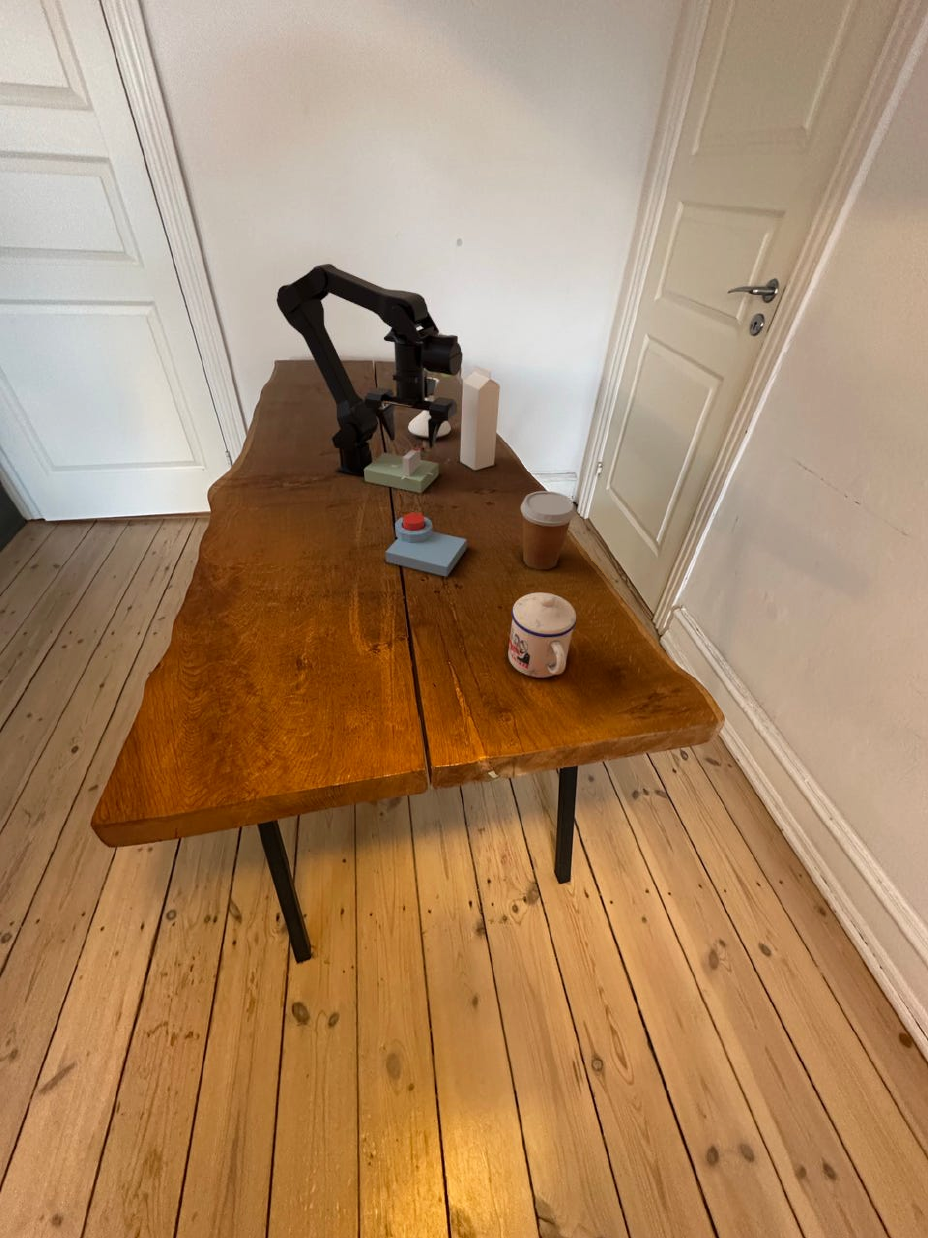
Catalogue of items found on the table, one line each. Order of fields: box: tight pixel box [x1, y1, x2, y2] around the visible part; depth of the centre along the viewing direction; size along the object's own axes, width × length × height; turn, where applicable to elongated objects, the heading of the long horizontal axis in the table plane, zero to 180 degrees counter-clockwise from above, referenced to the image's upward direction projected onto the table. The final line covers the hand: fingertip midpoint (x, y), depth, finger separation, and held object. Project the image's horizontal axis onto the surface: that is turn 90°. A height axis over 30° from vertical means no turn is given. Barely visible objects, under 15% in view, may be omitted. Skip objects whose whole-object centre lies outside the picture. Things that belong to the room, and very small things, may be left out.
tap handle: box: [403, 446, 421, 476], centre depth 121 cm, size 6×2×4 cm, turn 159°
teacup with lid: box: [507, 592, 578, 678], centre depth 77 cm, size 12×9×12 cm
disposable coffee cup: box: [520, 490, 576, 571], centre depth 99 cm, size 10×10×12 cm
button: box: [402, 512, 425, 531], centre depth 103 cm, size 4×4×2 cm
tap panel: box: [363, 452, 440, 494], centre depth 125 cm, size 15×11×3 cm
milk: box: [459, 364, 501, 471], centre depth 127 cm, size 6×6×22 cm
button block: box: [385, 516, 468, 577], centre depth 102 cm, size 13×12×4 cm
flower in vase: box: [407, 332, 454, 439], centre depth 139 cm, size 13×11×25 cm
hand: (411, 443), depth 119 cm, fingers open, 9 cm apart
